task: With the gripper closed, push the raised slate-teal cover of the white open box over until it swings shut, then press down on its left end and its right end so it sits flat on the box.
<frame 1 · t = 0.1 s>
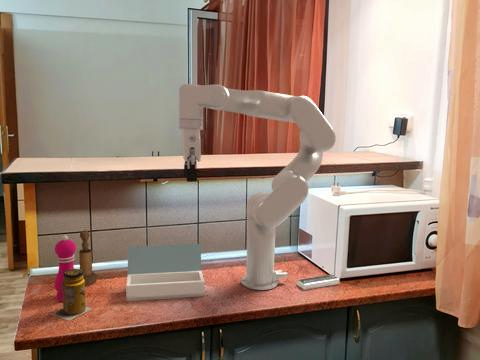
hand: (190, 178, 134), 37 cm above the worktop, tool pointing down, fingers open, 9 cm apart
condiment: (72, 312, 122), on the worktop
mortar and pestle: (86, 282, 142), on the worktop
white open box: (165, 292, 136), on the worktop
duct cover: (165, 258, 141), point 9 cm above the worktop, hinge at 108.0°
pepper mill: (67, 297, 131), on the worktop
multiport hub: (318, 286, 146), on the worktop
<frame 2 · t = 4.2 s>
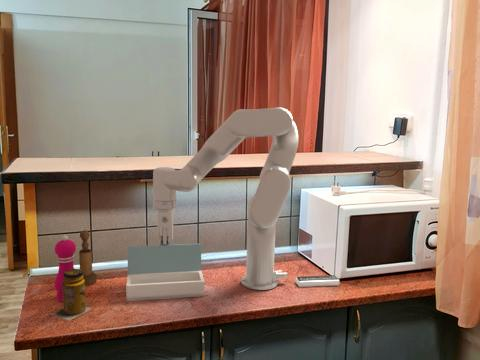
hand: (164, 256, 144), 9 cm above the worktop, tool pointing down, fingers closed
duct cover: (165, 258, 140), point 9 cm above the worktop, hinge at 100.4°, touching gripper
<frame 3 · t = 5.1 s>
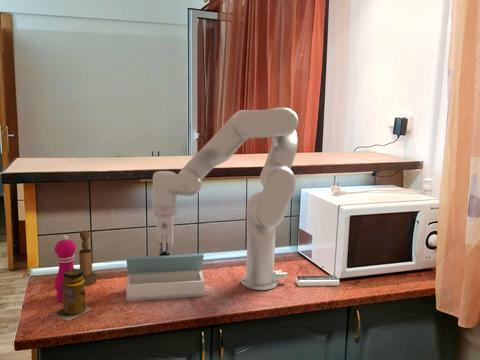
hand: (164, 264, 138), 8 cm above the worktop, tool pointing down, fingers closed
duct cover: (165, 264, 137), point 9 cm above the worktop, hinge at 51.6°, touching gripper
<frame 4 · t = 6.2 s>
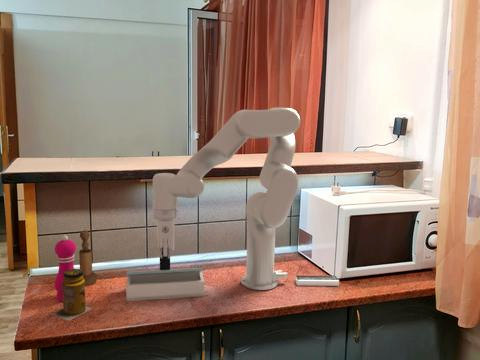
hand: (164, 269, 134), 8 cm above the worktop, tool pointing down, fingers closed
duct cover: (165, 271, 135), point 7 cm above the worktop, hinge at 21.0°, touching gripper
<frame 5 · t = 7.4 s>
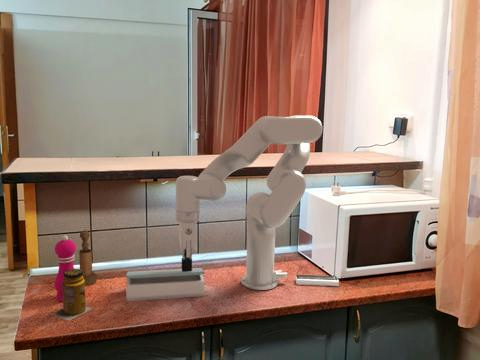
hand: (186, 270, 136), 7 cm above the worktop, tool pointing down, fingers closed
duct cover: (165, 272, 135), point 7 cm above the worktop, hinge at 13.9°, touching gripper
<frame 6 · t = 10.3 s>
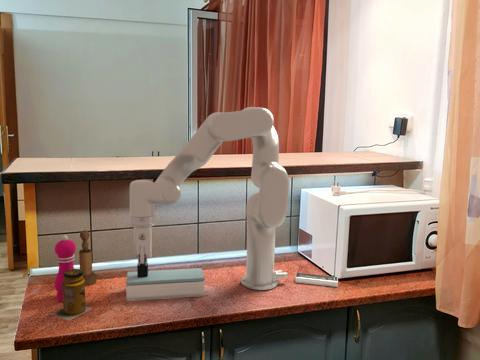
hand: (142, 276, 133), 6 cm above the worktop, tool pointing down, fingers closed
duct cover: (165, 276, 135), point 6 cm above the worktop, hinge at 1.7°, touching gripper
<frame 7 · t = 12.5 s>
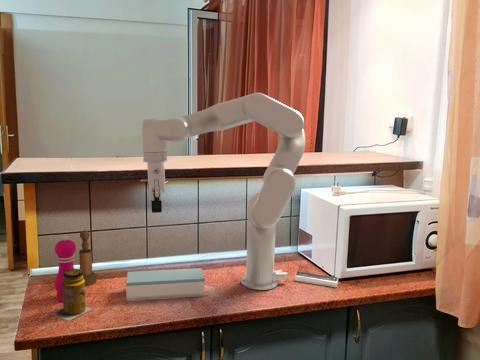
hand: (156, 211, 140), 25 cm above the worktop, tool pointing down, fingers closed
duct cover: (165, 276, 135), point 6 cm above the worktop, hinge at 0.4°
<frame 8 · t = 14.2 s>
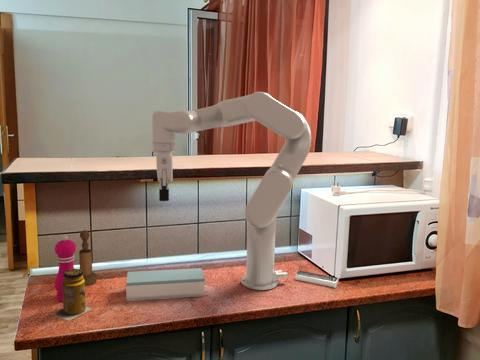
hand: (164, 200, 146), 27 cm above the worktop, tool pointing down, fingers closed
at the end: duct cover at +0° (first picture: +108°) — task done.
